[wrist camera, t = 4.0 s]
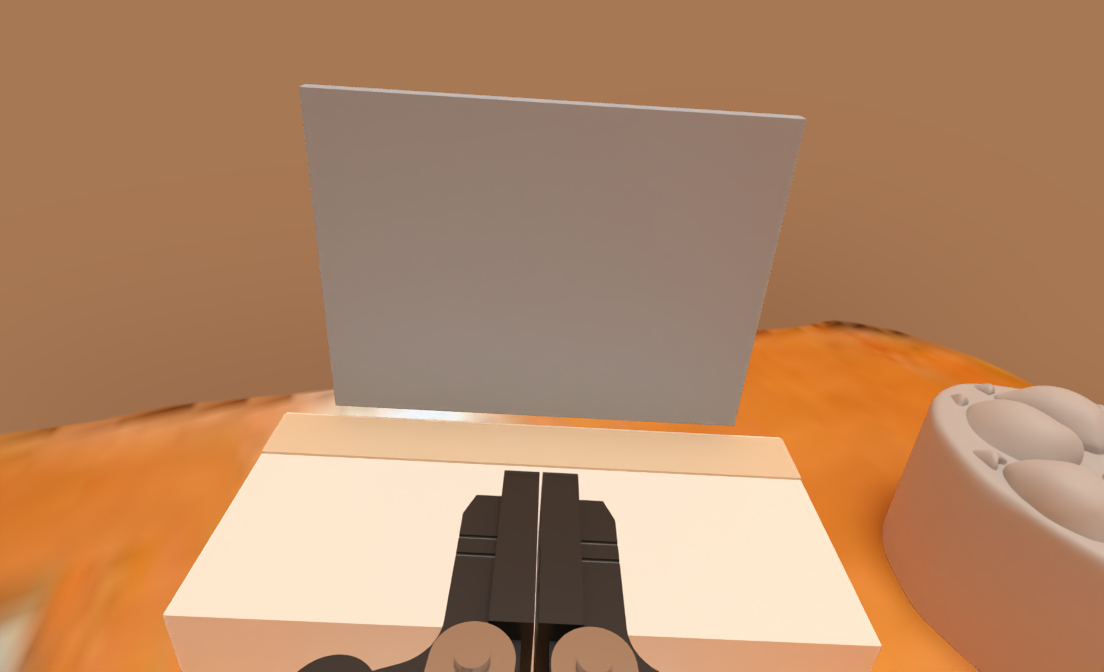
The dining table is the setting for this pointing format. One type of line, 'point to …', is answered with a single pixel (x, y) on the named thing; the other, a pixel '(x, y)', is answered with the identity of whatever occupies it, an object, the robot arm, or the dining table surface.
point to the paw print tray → (1006, 527)
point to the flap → (543, 251)
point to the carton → (478, 469)
